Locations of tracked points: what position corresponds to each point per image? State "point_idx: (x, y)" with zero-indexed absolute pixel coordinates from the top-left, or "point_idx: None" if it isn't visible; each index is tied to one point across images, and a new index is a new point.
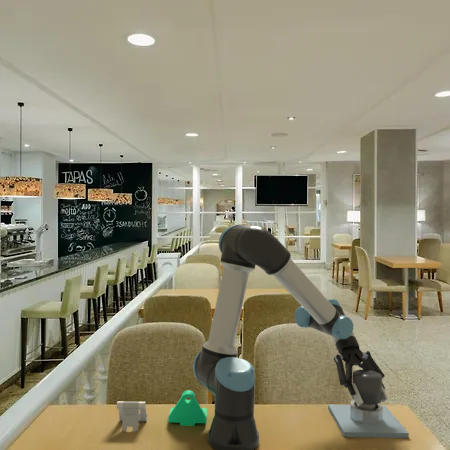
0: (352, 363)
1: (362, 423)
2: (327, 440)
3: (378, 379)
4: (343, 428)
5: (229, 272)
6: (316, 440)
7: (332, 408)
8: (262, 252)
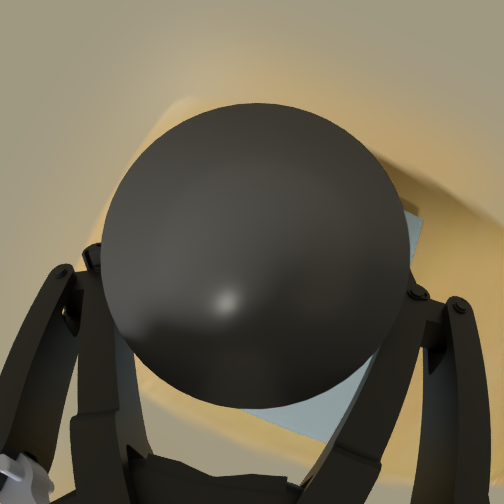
0: (338, 459)
1: None
2: (466, 230)
3: (240, 104)
4: (412, 242)
5: None
6: (488, 243)
7: (338, 408)
8: None
